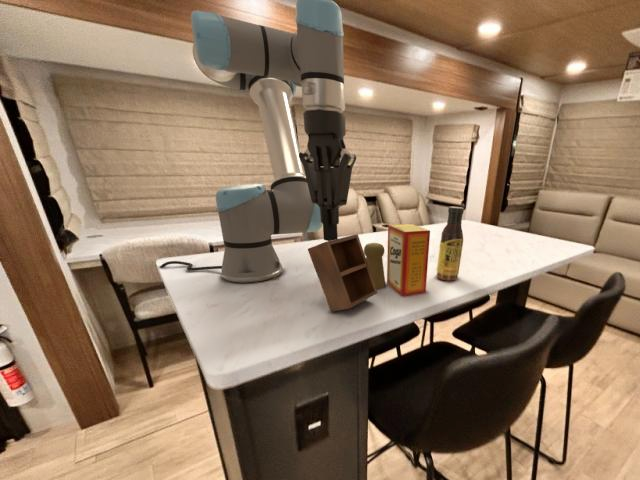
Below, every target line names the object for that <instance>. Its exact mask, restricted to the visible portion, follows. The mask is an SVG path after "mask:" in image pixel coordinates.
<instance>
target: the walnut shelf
mask: <svg viewBox="0 0 640 480" xmlns="http://www.w3.org/2000/svg"><path fill="white" fill-rule="evenodd" d="M307 252H308V255H309V258H310V261H311V262H312V265H313V268H314V270H315V272H316V276H317V278H318V281H319V284H320V286H321V290H322V292H323V296H324V298H325V300H326V302H327V305H328V308H329V311H330V312H332V313H333V312H337V311H342V310H343V311H344V310H347V309H352V308H353V307H355V306H356V305H359V304H360V303H362V302H364V301H366V300H368V299H369V298H372V297H374V296H376V295H377V294H378V290H377V289H376V287H375V284H374V281H373V278H372V275H371V272H370V269H369V266H368V263H367V260H366V255H365V254H364V247H363V245H362V242H361V240H360V237H359V234H358V233H356V234H352V235H351V234H350V235H347V236H343V237H340V238H338V239H335V240H331V241H324V242H322V243H319V244H317V245H314V246H310V247H309V248H307Z"/></svg>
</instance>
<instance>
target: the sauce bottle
mask: <svg viewBox="0 0 640 480" xmlns="http://www.w3.org/2000/svg"><path fill="white" fill-rule="evenodd" d="M464 210H465V208H464V207H463V206H448V209H447V212H448V215H447V216H448V217H447V220H446V225H445V226H444V227H443V228H442V229H443V230H442V231H441V238H440V241H439V249H438V259H437V267H436V277H437V279H439V280H442V281H451V282H452V281H455V280H457V279H458V275H459V273H460V267H461V258H462V251H463V247H464V246H463V245H464V234H463V229H462V223H463V222H462V221H463V214H464Z"/></svg>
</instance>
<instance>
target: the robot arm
mask: <svg viewBox="0 0 640 480" xmlns="http://www.w3.org/2000/svg"><path fill="white" fill-rule="evenodd" d="M190 20H191V21H190V22H191V30H192V36H193V45H192V57H193V61H194V63H195V64H196V66H197V68H198V69H199V70H200V72H201V73H202V74H203V75H204V76H205V77H207V78H208V79H209V80H211V81H213V82H215V83H217V84H218V85H221V86H224V87H226V88H230V89H233V90H239V91H246V92H248V93H249V96H250V99H251V100H252V101H253V102H254V103H255V104H256V105H257V107H258V111H259V116H260V120H261V121H260V122H261V124H262V130H263V134H264V139H265V143H266V148H267V152H268V156H269V157H268V158H269V161H270V166H271V171H272V175H273V181H272V182H271V184H270V189H267V188H266V186H265V185H264V184H262V183H253V184H241V185H234V186H228V187H223V188H221V189H218V190H217V192H216V193H215V201H216V212H218V213H217V214H218V218H219V224H220V229H221V235H222V240H223V246H224V252H223V258H222V265H212V266H211V265H209V266H198V267H197V266H196V267H193V263H192V262H187V261H181V260H170V261H166V262H164V263H162V264H161V265H160V267H159V268H160V269H163V268H165V267H166V266H168V265H184V266H187V267H186V269H187V270H188V271H189V272H193V271H194V272H195V271H203V270H220V269H221V276H222V279H223V280H225V281H228V282H232V283H240V284H245V283H247V284H248V283H257V282H258V283H260V282H264V281H269V280H272V279H275V278H277V277H279V276H281V275H282V273H283V266H282V263H281V260H280V258H279V256H278V254H277V252H276V250H275V248H274V246H273V241H272V236H275V235H276V236H277V235H291V234H292V235H293V234H308V233H314V232H318V231H319V230H321V228H322V233H323V234H322V235H323V241H325V242H327V241H331V240H335V239H339V238H338V225H339V224H340V212H339V211H340V208H341V207H343V206H346V205H347V204H348V198H349V191H350V184H351V178H352V171H353V167H354V165H355V163H356V161H357V155H356V154H355V153H351V152H350V151H349V150H347V146H346V143H345V140H344V137H346V134H347V132H346V116H345V114H344V113H343V112H344V111H345V110H346V93H345V92H346V91H345V63H344V59H345V58H344V57H345V55H344V37H345V33H344V28H343V27H344V26H343V13H342V10H341V8H340V6H339V5H338V4H337V3H336V2H335V1H333V0H297V1H296V3H295V18H294V20H295V21H294V22H295V23H296V31H295V32H292V31H291V32H290V31H286V30H283V29H278V28H276V27H275V28H274V27H269V26H266V25H261V24H257V23H252V22H249V21H244V20H240V19H236V18H234V17H233V18H232V17H229V16H225V15H221V14H219V13H217V12H213V11H209V12H207V11H202V10H197V9H196V10H193V11H191V14H190ZM297 88H301V97H302V107H303V108H304V109H305V110H304V111H303V114H302V115H303V128H304V133H305V134H306V136H307V137H308V141H307V145H306V149H305V151H304V152H301V150H300V149H301V148H300V144H299V141H298V136H297V131H296V128H295V122H294V118H293V113H292V110H291V105H290V103H291V102H292V100H293V97H294V96H295V95H296V91H297Z"/></svg>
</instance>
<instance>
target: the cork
mask: <svg viewBox="0 0 640 480" xmlns="http://www.w3.org/2000/svg"><path fill="white" fill-rule="evenodd" d="M363 251H364V254H365V257H366V260H367V263H368V266H369V269H370V272H371V275H372V278H373V281H374V284H375V287H376V290H377V289H383V288H384V287H385V286H386V278H385V277H386V276H385V269H384V261H383V257H384V256H385V255H384V254H385V247H384V246H383V244H381V243H378V242H370V243H366V244H365V246H364V247H363Z"/></svg>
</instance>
